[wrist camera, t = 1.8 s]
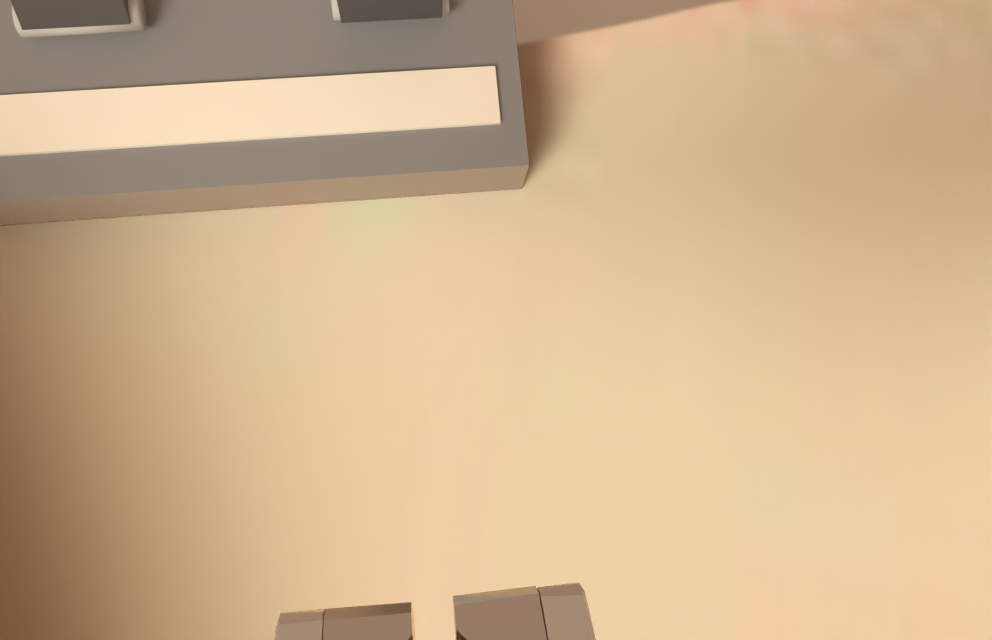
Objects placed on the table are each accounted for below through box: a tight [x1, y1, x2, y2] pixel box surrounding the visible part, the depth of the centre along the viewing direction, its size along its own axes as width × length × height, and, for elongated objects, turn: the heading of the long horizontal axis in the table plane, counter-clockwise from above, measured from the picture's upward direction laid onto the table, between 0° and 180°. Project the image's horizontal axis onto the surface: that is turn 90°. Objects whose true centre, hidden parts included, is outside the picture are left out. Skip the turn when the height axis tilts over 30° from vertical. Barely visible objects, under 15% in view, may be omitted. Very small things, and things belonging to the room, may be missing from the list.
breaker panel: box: [0, 0, 529, 225], centre depth 39 cm, size 22×16×3 cm
